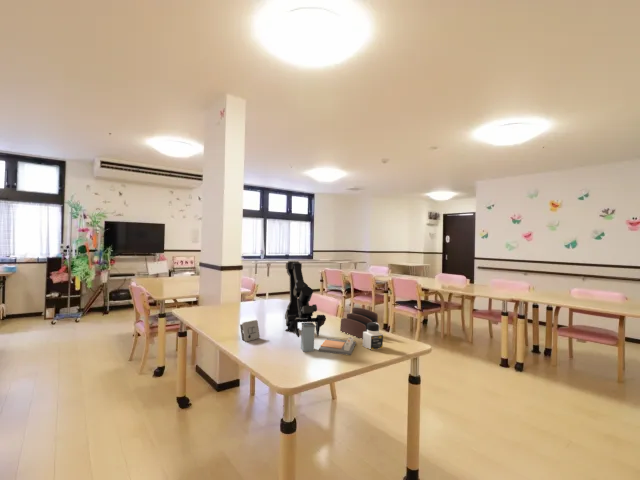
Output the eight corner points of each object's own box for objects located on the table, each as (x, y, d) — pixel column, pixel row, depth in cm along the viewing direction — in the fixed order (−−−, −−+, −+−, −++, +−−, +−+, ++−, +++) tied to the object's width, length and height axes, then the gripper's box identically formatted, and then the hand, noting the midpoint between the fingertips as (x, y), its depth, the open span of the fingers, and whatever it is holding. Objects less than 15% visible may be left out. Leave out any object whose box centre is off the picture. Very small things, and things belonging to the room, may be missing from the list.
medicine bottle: (370, 350, 158) (371, 325, 158) (362, 346, 164) (363, 321, 164) (382, 348, 161) (383, 324, 161) (373, 344, 167) (374, 320, 167)
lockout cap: (300, 348, 157) (301, 322, 157) (311, 347, 158) (312, 322, 158) (303, 351, 152) (304, 325, 152) (313, 351, 153) (315, 325, 153)
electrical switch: (245, 342, 162) (245, 323, 163) (238, 341, 165) (238, 322, 166) (260, 338, 169) (259, 320, 170) (253, 337, 173) (253, 319, 173)
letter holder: (352, 329, 195) (353, 305, 195) (377, 338, 180) (378, 312, 180) (339, 331, 189) (340, 307, 189) (364, 340, 173) (365, 314, 173)
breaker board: (327, 340, 171) (327, 332, 171) (355, 343, 167) (356, 335, 167) (318, 351, 153) (318, 342, 153) (350, 355, 150) (351, 346, 150)
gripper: (288, 298, 156) (291, 328, 145) (325, 298, 161) (332, 326, 151) (284, 311, 164) (287, 340, 153) (320, 310, 169) (326, 338, 158)
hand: (308, 336), depth 153 cm, fingers open, 9 cm apart
